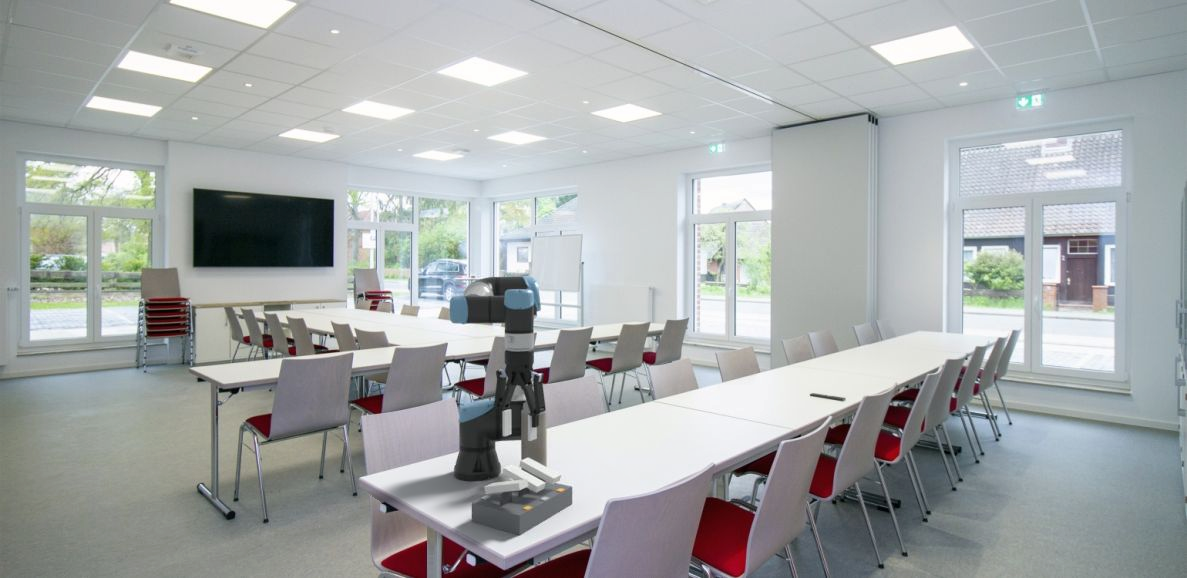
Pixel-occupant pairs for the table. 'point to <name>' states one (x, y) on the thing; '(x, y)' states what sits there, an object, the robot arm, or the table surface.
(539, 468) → the rocker
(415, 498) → the table surface
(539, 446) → the thermos bottle
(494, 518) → the console
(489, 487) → the rocker
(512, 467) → the rocker
